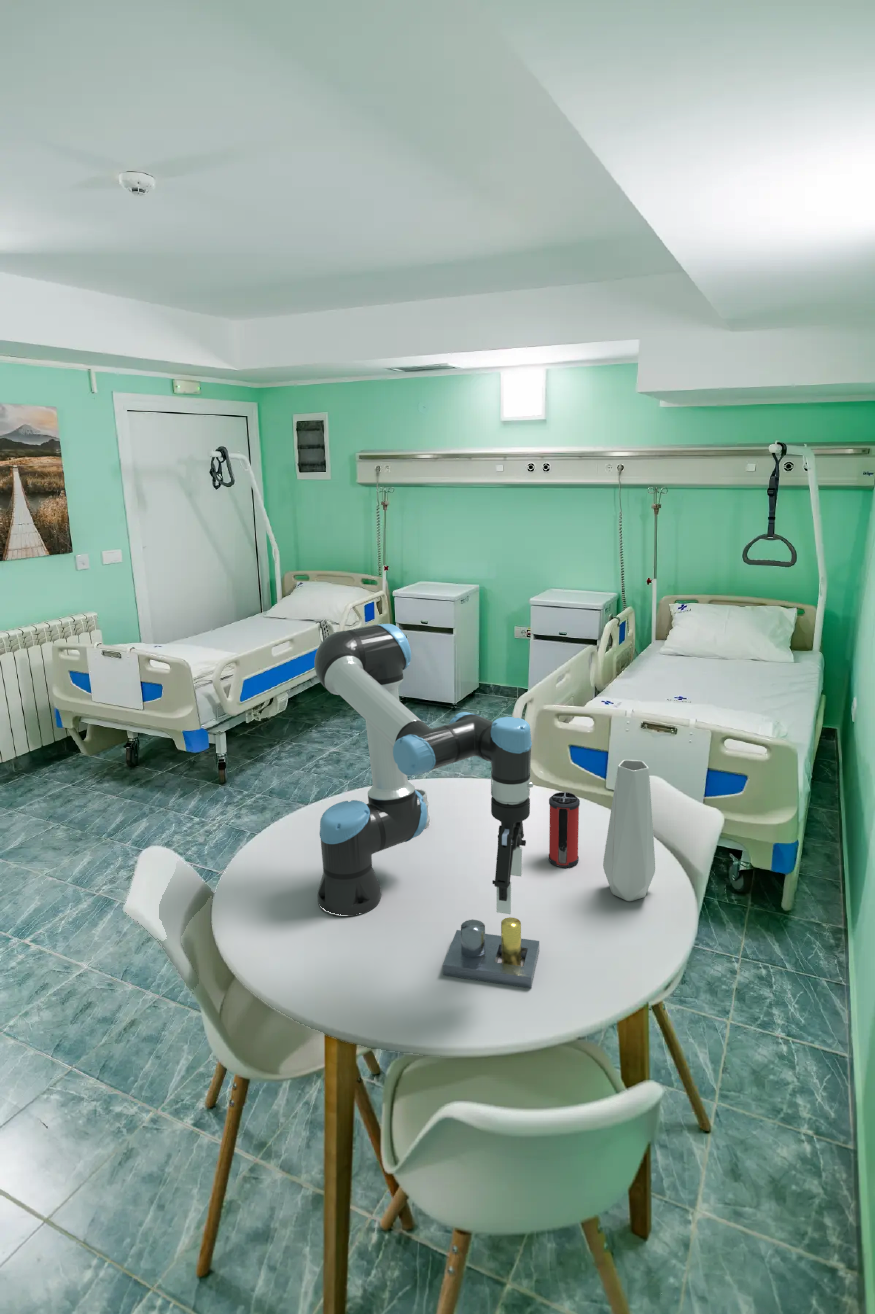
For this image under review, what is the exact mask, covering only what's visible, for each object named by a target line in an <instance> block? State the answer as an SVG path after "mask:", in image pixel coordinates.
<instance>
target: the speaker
mask: <svg viewBox="0 0 875 1314" xmlns="http://www.w3.org/2000/svg"><path fill="white" fill-rule="evenodd" d="M548 805H549V838H548V839H549V841H548V842H549V846H548V847H549V849H548V850H549V853H548V861H549V862H550V863H551V864H552V865H553V866H555V867H562V868H570V867H573V866H575V865H576V864H578V862H579V861H580V859H579V822H580V821H579V819H580V817H579V816H580V812H579V811H580V805H581V803H580V799H579V798H578V797H577V796H576V795H575V794H573V793H571V792H567V791H562V792H561V791H560V792H556V793H553V795H551V796H550V797H549V799H548Z"/></svg>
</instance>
